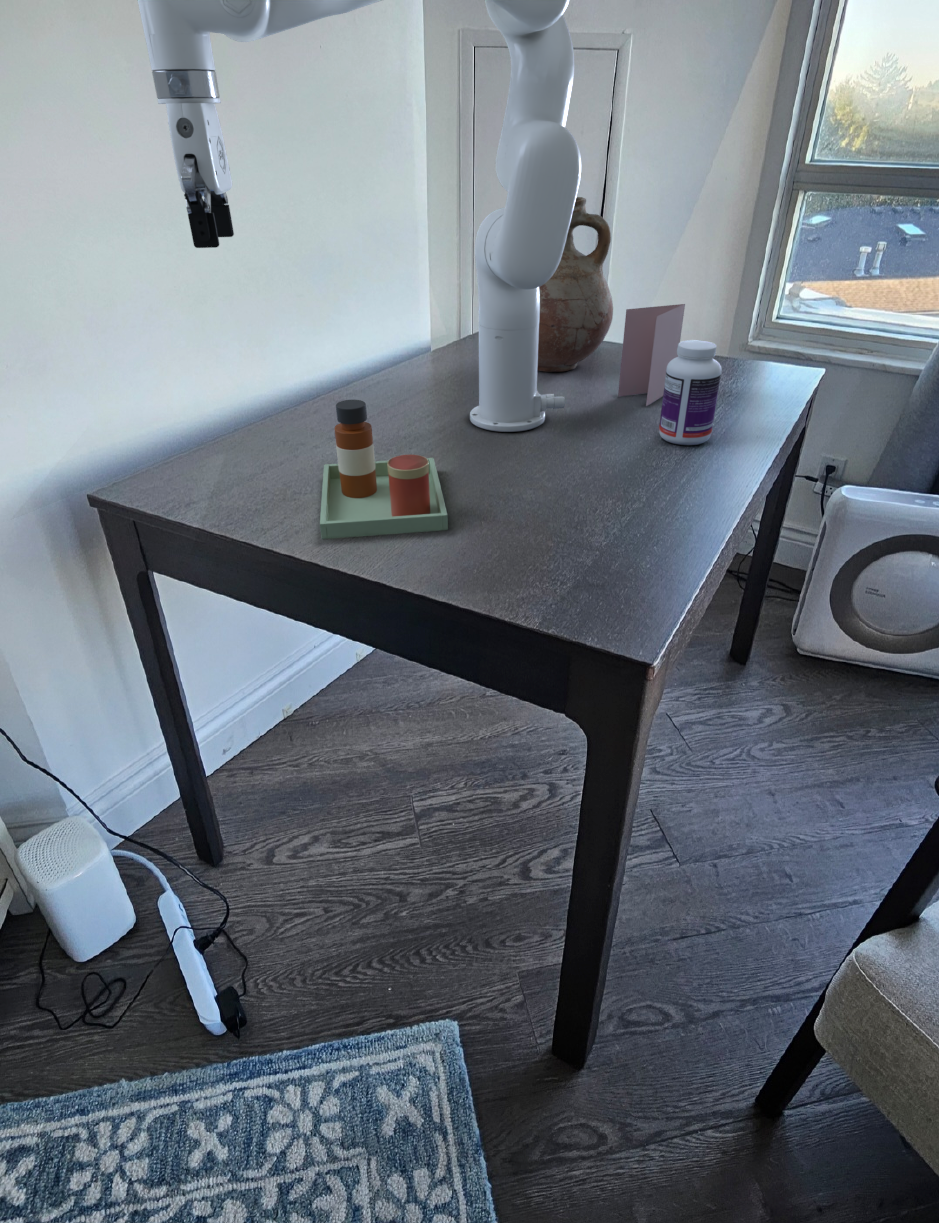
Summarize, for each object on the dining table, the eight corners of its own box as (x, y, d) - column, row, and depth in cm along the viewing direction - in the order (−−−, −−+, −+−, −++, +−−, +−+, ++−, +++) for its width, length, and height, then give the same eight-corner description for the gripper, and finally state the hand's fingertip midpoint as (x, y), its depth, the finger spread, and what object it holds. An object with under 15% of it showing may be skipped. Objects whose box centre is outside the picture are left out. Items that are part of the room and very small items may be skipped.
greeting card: (670, 388, 140) (682, 302, 132) (692, 400, 134) (706, 311, 126) (615, 395, 137) (623, 308, 129) (635, 407, 131) (645, 317, 123)
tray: (434, 474, 108) (433, 457, 107) (448, 533, 93) (447, 514, 92) (326, 481, 107) (323, 464, 105) (322, 543, 92) (319, 523, 90)
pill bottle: (714, 433, 121) (730, 340, 113) (705, 450, 115) (721, 354, 107) (663, 426, 123) (676, 335, 115) (652, 443, 117) (664, 348, 109)
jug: (501, 351, 163) (503, 193, 146) (601, 351, 162) (614, 191, 145) (501, 381, 145) (503, 205, 128) (614, 381, 144) (631, 203, 127)
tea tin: (429, 503, 99) (426, 452, 95) (432, 520, 95) (430, 468, 91) (390, 506, 99) (386, 455, 95) (392, 523, 94) (388, 471, 91)
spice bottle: (376, 482, 105) (369, 397, 98) (378, 497, 101) (370, 409, 94) (341, 484, 105) (331, 398, 98) (341, 499, 100) (330, 411, 94)
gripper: (202, 87, 87) (230, 251, 96) (231, 90, 101) (253, 232, 110) (135, 88, 86) (170, 252, 96) (174, 91, 101) (201, 233, 110)
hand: (215, 241), depth 103 cm, fingers open, 9 cm apart
